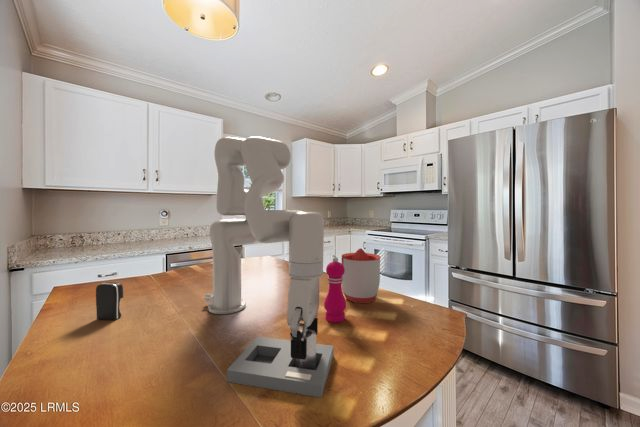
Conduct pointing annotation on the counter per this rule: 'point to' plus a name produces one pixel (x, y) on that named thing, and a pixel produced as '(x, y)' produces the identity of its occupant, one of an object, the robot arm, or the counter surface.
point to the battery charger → (108, 300)
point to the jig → (280, 368)
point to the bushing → (308, 352)
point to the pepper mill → (335, 292)
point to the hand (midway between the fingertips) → (305, 345)
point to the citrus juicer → (361, 276)
